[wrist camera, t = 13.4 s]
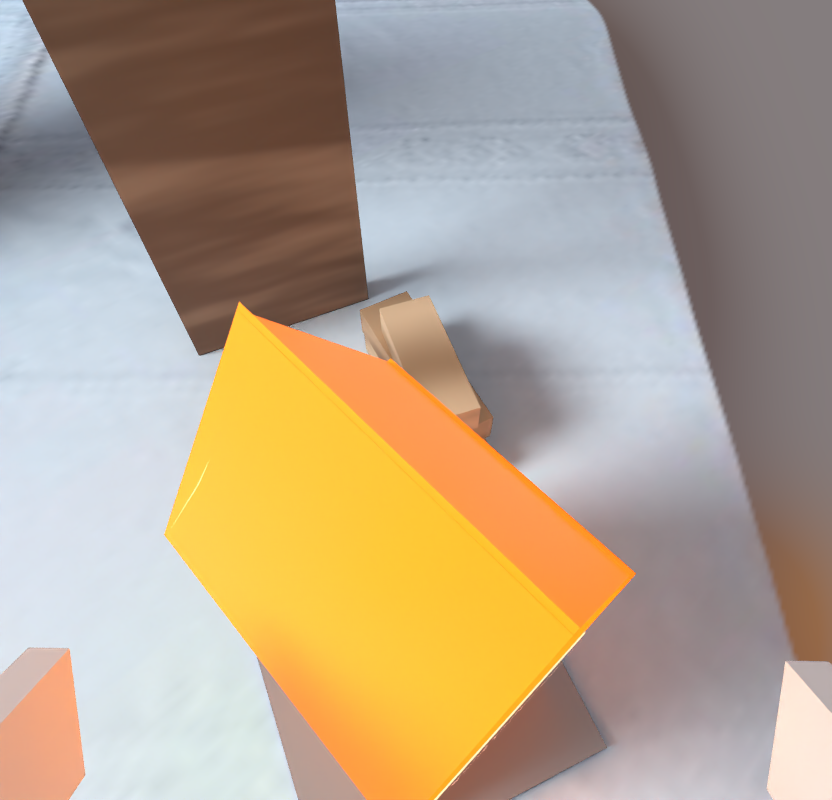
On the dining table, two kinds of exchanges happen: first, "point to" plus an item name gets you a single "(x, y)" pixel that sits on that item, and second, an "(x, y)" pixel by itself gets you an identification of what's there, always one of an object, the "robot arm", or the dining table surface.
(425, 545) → the orange juice
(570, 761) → the grey mat
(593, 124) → the dining table surface
